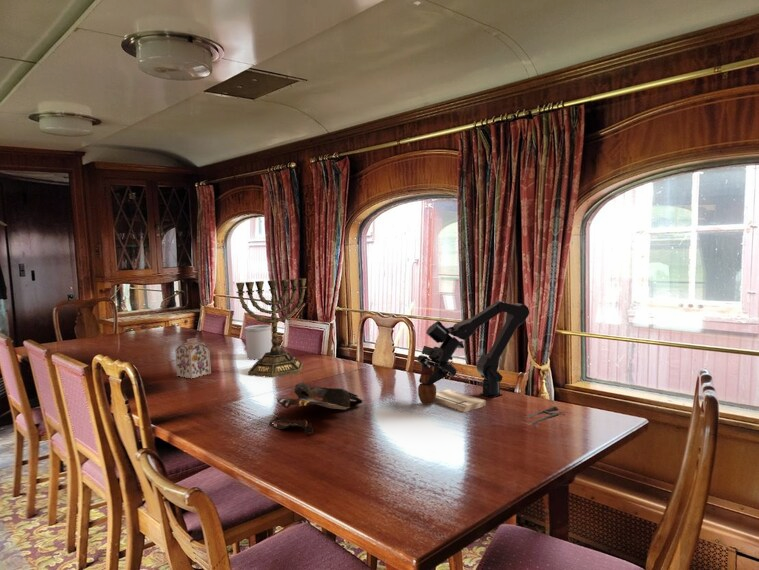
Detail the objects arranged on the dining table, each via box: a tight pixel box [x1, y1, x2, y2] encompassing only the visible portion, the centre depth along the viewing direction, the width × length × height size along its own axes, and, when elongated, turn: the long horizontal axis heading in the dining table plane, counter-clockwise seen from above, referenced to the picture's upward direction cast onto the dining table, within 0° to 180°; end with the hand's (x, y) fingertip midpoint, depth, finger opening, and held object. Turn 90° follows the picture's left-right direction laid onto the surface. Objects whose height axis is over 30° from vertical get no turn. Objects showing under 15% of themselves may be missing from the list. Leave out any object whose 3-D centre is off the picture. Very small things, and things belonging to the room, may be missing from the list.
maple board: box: [433, 388, 487, 413], centre depth 192 cm, size 11×20×2 cm, turn 36°
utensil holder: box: [243, 324, 273, 360], centre depth 286 cm, size 15×15×18 cm
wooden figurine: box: [417, 364, 437, 405], centre depth 191 cm, size 7×6×15 cm
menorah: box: [235, 278, 307, 378], centre depth 252 cm, size 36×25×45 cm
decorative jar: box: [175, 337, 212, 380], centre depth 248 cm, size 12×12×18 cm
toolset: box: [269, 381, 365, 436], centre depth 183 cm, size 40×20×27 cm
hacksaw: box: [516, 406, 566, 431], centre depth 172 cm, size 24×10×2 cm, turn 121°
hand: (423, 383), depth 190 cm, fingers closed on wooden figurine, 5 cm apart
